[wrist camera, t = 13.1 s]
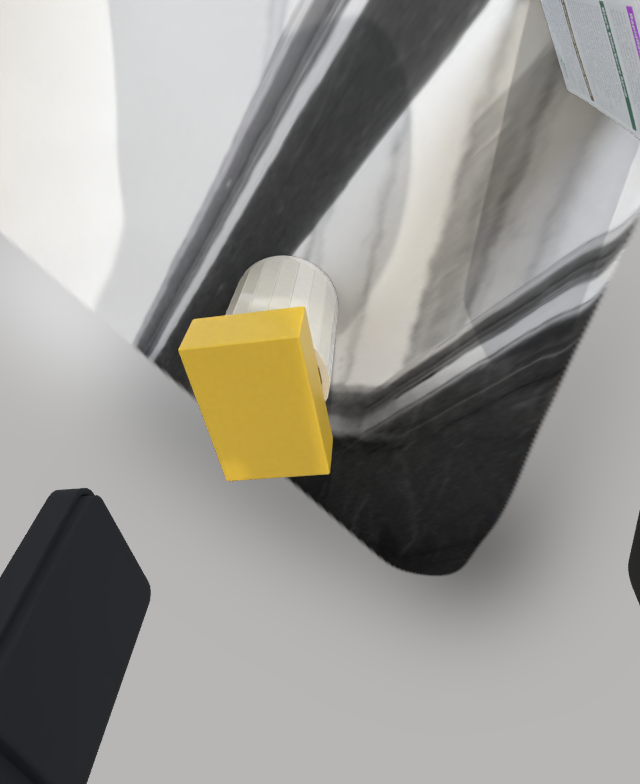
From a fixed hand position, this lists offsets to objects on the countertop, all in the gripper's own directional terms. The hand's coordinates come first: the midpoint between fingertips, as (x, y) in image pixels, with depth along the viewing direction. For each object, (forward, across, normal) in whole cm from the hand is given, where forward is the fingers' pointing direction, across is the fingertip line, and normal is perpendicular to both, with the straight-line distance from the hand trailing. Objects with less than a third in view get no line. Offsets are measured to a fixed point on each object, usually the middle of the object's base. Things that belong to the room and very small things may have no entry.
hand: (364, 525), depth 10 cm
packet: (+19, +7, +10) cm, 23 cm away
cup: (+28, +7, +10) cm, 31 cm away
